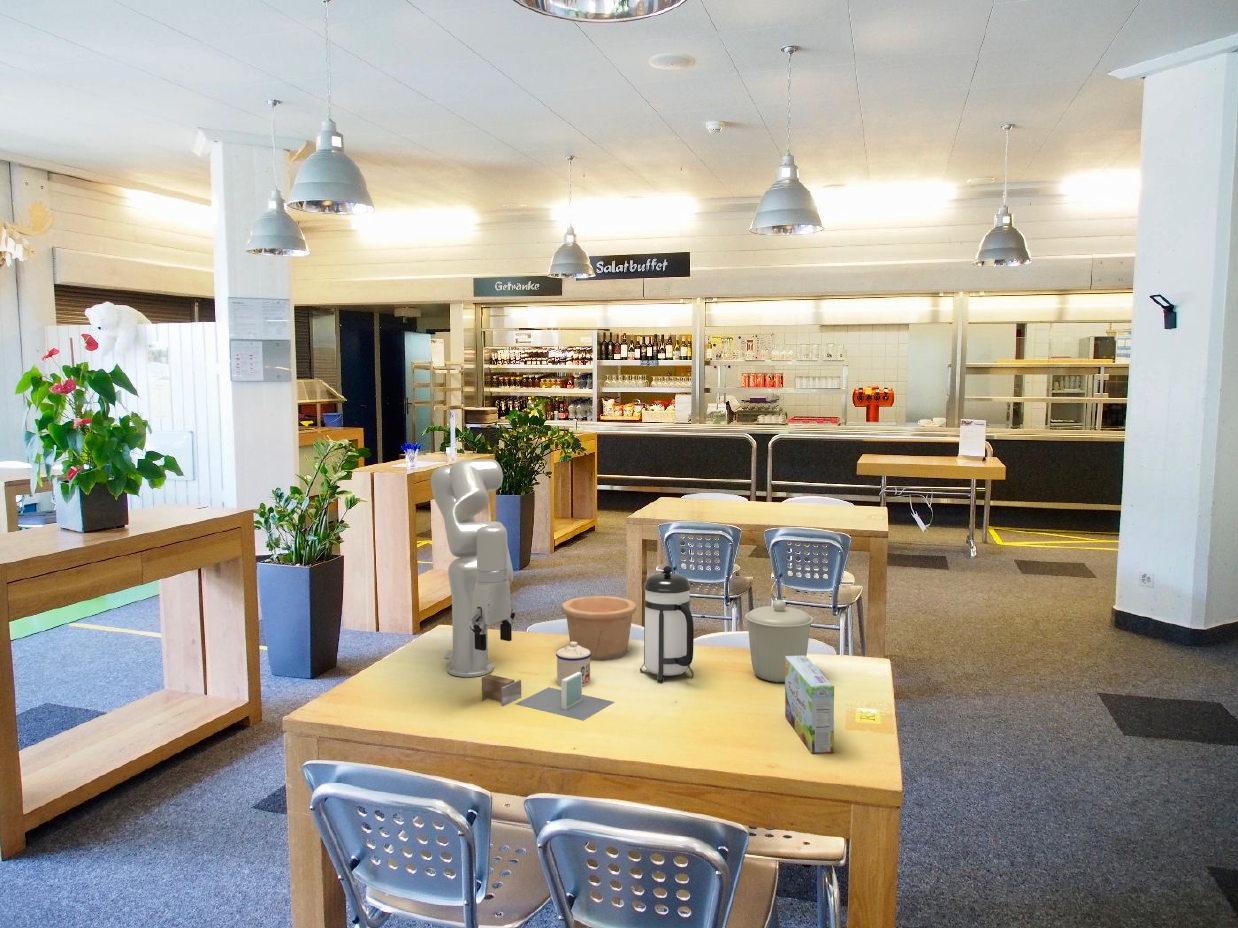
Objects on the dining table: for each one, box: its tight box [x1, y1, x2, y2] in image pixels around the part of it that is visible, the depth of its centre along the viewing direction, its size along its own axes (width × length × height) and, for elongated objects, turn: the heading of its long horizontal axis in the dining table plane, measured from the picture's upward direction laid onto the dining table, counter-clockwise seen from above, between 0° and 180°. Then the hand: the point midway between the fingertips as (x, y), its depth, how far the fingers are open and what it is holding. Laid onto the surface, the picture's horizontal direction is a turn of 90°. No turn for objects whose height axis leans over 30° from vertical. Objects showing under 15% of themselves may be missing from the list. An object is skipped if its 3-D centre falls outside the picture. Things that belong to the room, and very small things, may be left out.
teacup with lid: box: [555, 641, 591, 688], centre depth 226 cm, size 12×9×12 cm
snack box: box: [784, 655, 835, 755], centre depth 193 cm, size 21×6×15 cm, turn 5°
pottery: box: [561, 595, 638, 661], centre depth 254 cm, size 22×22×14 cm
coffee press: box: [639, 565, 695, 684], centre depth 232 cm, size 17×16×30 cm
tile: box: [560, 672, 583, 709], centre depth 208 cm, size 1×7×7 cm, turn 149°
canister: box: [744, 599, 814, 683], centre depth 232 cm, size 18×18×21 cm
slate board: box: [515, 687, 615, 721], centre depth 210 cm, size 20×14×1 cm
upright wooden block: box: [481, 673, 522, 707], centre depth 213 cm, size 8×7×6 cm
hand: (493, 644), depth 212 cm, fingers open, 9 cm apart
